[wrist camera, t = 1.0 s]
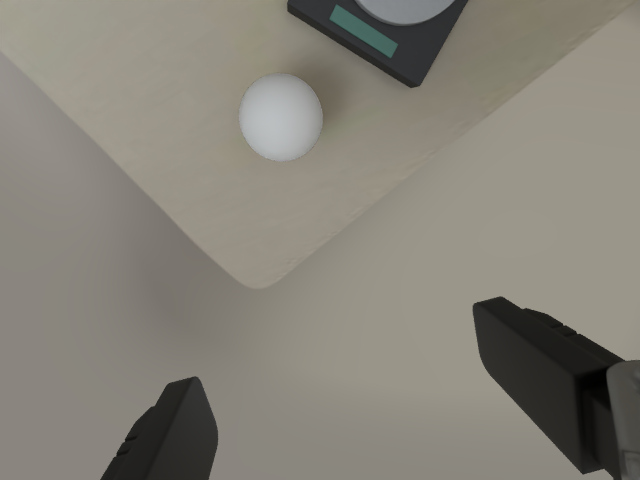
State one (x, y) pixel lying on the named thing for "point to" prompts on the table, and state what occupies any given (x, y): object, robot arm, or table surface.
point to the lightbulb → (280, 117)
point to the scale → (385, 30)
